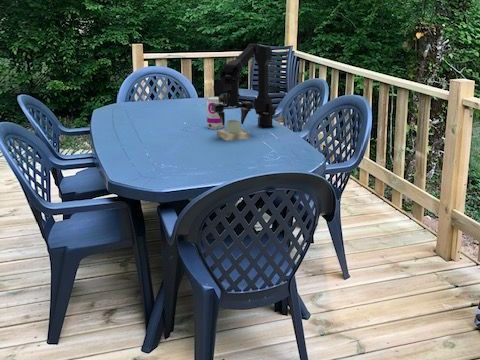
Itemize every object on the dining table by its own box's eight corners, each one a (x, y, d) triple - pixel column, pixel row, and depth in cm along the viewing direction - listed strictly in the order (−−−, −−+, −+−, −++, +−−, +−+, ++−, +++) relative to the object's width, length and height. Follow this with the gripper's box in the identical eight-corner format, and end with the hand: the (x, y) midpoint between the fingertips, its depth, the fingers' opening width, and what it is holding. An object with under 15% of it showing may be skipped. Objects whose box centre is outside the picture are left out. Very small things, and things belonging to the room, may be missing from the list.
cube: (236, 130, 271) (236, 119, 269) (240, 132, 266) (240, 121, 265) (226, 131, 269) (226, 120, 267) (230, 133, 265) (230, 122, 263)
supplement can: (221, 129, 283) (220, 99, 278) (205, 129, 284) (204, 99, 280) (225, 126, 290) (224, 96, 286) (209, 125, 292) (208, 96, 287)
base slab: (240, 134, 276) (240, 128, 275) (249, 139, 265) (249, 133, 264) (216, 136, 272) (216, 130, 271) (225, 142, 261) (225, 135, 260)
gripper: (244, 87, 272) (244, 120, 277) (207, 90, 265) (208, 123, 270) (253, 91, 262) (253, 124, 267) (215, 93, 256) (216, 128, 260)
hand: (232, 124), depth 266 cm, fingers open, 9 cm apart
